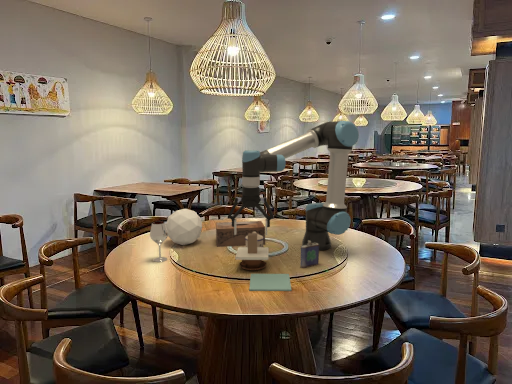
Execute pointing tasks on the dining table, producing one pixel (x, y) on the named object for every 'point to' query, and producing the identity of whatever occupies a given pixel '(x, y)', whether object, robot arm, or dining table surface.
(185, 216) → the ball
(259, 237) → the teacup with lid
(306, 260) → the flask
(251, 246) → the lid
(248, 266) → the cup and saucer
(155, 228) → the wineglass
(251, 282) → the mat
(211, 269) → the dining table surface
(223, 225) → the tissue box cover
